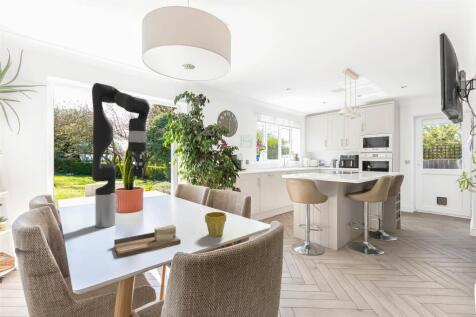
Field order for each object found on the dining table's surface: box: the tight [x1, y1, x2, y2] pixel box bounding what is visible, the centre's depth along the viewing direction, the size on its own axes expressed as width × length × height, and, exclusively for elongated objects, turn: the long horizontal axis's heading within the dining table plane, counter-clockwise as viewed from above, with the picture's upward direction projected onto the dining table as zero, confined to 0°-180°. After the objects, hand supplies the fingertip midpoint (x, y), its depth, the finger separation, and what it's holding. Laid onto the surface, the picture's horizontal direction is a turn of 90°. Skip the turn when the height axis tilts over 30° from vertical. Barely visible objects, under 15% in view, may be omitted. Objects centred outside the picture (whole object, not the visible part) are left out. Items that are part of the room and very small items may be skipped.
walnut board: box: [113, 231, 182, 258], centre depth 95 cm, size 12×24×3 cm, turn 126°
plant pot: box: [204, 211, 227, 237], centre depth 109 cm, size 10×10×10 cm
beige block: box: [154, 224, 177, 242], centre depth 98 cm, size 5×8×5 cm, turn 126°
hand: (137, 177), depth 103 cm, fingers open, 8 cm apart
